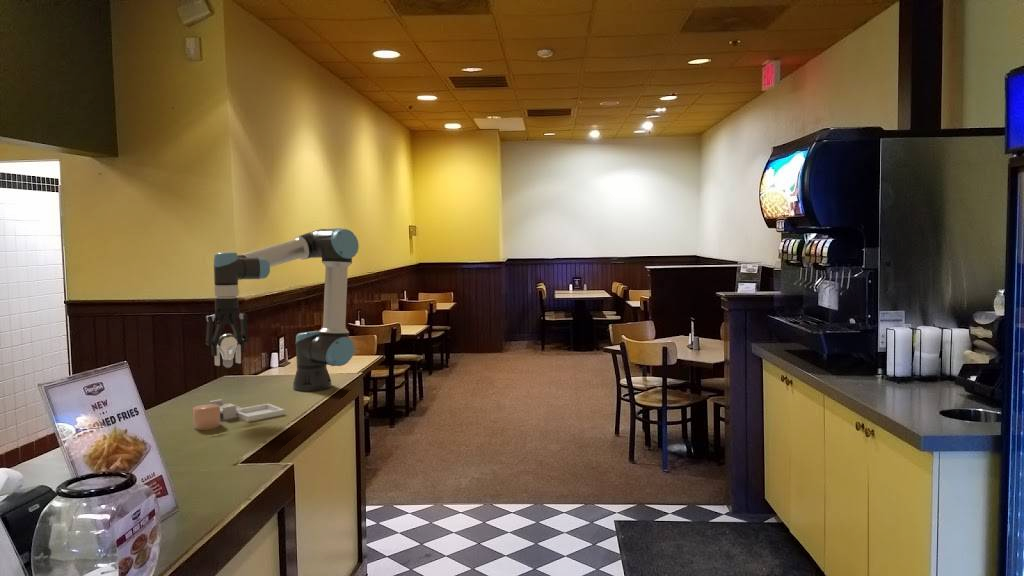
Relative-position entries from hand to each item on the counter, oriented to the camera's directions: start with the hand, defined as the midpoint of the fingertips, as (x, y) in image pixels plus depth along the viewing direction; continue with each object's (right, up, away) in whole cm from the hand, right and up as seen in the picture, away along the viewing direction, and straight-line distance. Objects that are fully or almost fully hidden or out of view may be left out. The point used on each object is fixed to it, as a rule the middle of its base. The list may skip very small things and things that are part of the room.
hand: (227, 363), depth 244 cm
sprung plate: (-1, -16, -1) cm, 16 cm away
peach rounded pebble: (-1, -19, -15) cm, 24 cm away
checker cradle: (-1, -18, -1) cm, 18 cm away
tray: (+11, -18, -1) cm, 21 cm away
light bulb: (0, -2, 0) cm, 2 cm away
